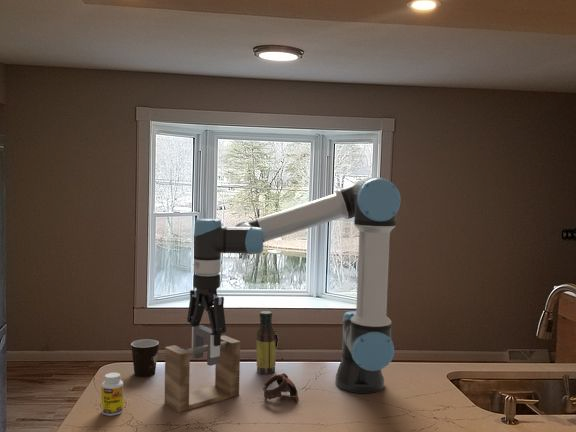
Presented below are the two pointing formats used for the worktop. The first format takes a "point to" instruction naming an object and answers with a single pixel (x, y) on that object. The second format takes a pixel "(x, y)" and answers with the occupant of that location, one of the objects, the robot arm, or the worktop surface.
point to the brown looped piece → (280, 387)
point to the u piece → (198, 340)
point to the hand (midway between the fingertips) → (205, 352)
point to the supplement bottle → (112, 395)
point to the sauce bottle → (265, 344)
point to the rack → (180, 369)
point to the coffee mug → (144, 357)
